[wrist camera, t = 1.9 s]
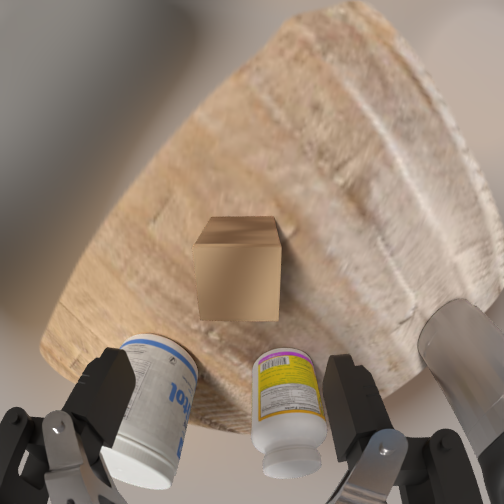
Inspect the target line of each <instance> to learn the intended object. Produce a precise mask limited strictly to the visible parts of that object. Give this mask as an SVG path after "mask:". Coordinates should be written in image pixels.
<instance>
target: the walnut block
mask: <svg viewBox="0 0 504 504" xmlns="http://www.w3.org/2000/svg"><path fill="white" fill-rule="evenodd" d="M281 250H282V247H281V244H280V240H279V236H278V232H277V228H276V224H275V220H274V216H246V217H211V218H210V220H209V222H208V223H207V225H206V226H205V228H204V230H203V231H202V233H201V235H200V236H199V238H198V239H197V241H196V243H195V244H194V245H193V247H192V253H193V263H194V273H195V282H196V291H197V299H198V307H199V315H200V320H206V321H278V318H279V299H280V276H281Z"/></svg>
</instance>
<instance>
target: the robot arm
mask: <svg viewBox="0 0 504 504" xmlns="http://www.w3.org/2000/svg"><path fill="white" fill-rule="evenodd" d="M418 350H419V353H420V354H421V356H422V357H423V359H424V361H425V362H426V364H427V366H428V367H429V369H430V370H431V372H432V374H433V376H434V377H435V379H436V381H437V383H438V384H439V386H440V388H441V389H442V391H443V393H444V394H445V396H446V398H447V400H448V402H449V404H450V405H451V407H452V409H453V411H454V413H455V415H456V416H457V418H458V420H459V422H460V424H461V426H462V428H463V430H464V432H465V434H466V436H467V438H468V440H469V442H470V444H471V446H472V449H473V451H474V453H475V455H476V457H477V458H478V462H479V464H480V466H481V469H482V473H483V478H484V482H485V486H486V490H487V493H488V496H489V499H490V502H491V504H504V333H503V332H502V331H501V330H500V329H499V328H498V327H497V326H496V325H495V324H494V323H493V322H492V321H491V320H490V319H489V318H488V317H487V316H486V315H485V314H484V313H483V312H482V311H481V310H480V309H479V308H478V307H477V306H473V305H472V304H471V303H470V302H469V301H468V300H466V299H456V300H453V301H451V302H449V303H447V304H446V305H444V306H443V307H442V308H440V309H439V310H438V311H437V312H436V313H435V314H434V315H433V316H432V317H431V319H430V320H429V321H428V322H427V324H426V325H425V327H424V329H423V331H422V333H421V335H420V338H419V341H418ZM135 385H136V377H135V373H134V371H133V368H132V366H131V363H130V361H129V358H128V356H127V353H126V351H125V350H123V349H116V348H109V347H107V348H106V349H105V350H104V352H103V353H102V355H101V357H100V358H97V357H96V358H95V359H94V360H93V361H92V362H90V363H89V364H88V365H87V367H86V368H85V370H84V372H83V373H82V376H81V377H80V378H79V380H78V383H77V384H76V385H75V387H74V389H73V391H72V392H71V394H70V396H69V398H68V400H67V401H66V403H65V405H64V407H63V408H62V410H56V411H53V412H50V413H49V414H47V415H46V417H45V418H41V417H30V416H29V415H28V414H27V413H26V412H25V410H24V409H22V408H20V407H13V408H11V409H9V410H8V411H7V413H6V414H5V416H4V417H3V419H2V421H1V423H0V504H47V501H48V498H49V497H50V500H51V503H52V504H127V502H126V501H125V499H124V498H123V497H122V496H121V494H120V493H119V492H118V490H117V488H116V486H115V484H114V482H113V480H112V478H111V475H110V473H109V471H108V468H107V466H106V463H105V461H104V458H103V456H102V453H101V452H100V451H101V448H102V446H104V447H108V448H111V449H112V447H113V444H114V442H115V439H116V436H117V433H118V431H119V428H120V425H121V422H122V420H123V417H124V415H125V412H126V409H127V407H128V404H129V402H130V399H131V397H132V394H133V392H134V389H135ZM375 385H376V384H375V382H374V379H373V377H372V375H371V373H370V372H369V371H368V370H367V369H366V368H365V367H364V366H363V365H360V366H355V365H354V362H353V360H352V357H351V355H350V354H342V355H331V356H330V357H329V360H328V364H327V368H326V372H325V376H324V380H323V396H324V400H325V404H326V409H327V413H328V417H329V422H330V426H331V431H332V436H333V440H334V444H335V450H336V454H337V459H338V462H343V461H347V463H348V470H347V471H346V473H345V475H344V476H343V478H342V479H341V481H340V483H339V484H338V486H337V487H336V489H335V490H334V492H333V493H332V495H331V496H330V498H329V499H328V501H327V502H326V503H325V504H387V502H386V499H387V497H388V495H389V493H390V490H391V488H392V486H399V490H400V495H401V499H402V504H483V501H482V499H481V494H480V491H479V487H478V484H477V481H476V478H475V475H474V472H473V469H472V466H471V463H470V461H469V458H468V455H467V453H466V450H465V448H464V445H463V443H462V440H461V438H460V436H459V435H458V434H457V433H456V432H455V431H453V430H451V429H441V430H438V431H437V432H435V433H434V434H433V436H431V437H429V438H428V437H425V438H410V437H405V436H404V435H403V434H402V433H401V432H399V431H397V430H395V429H394V428H393V426H392V424H391V421H390V419H389V416H388V414H387V411H386V409H385V406H384V404H383V401H382V399H381V396H380V395H379V391H378V389H377V386H375ZM25 450H27V451H28V452H29V456H28V458H27V461H26V463H25V466H24V469H23V471H22V474H21V475H20V476H19V474H18V467H19V465H20V462H21V459H22V457H23V454H24V452H25Z"/></svg>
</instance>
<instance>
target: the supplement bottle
mask: <svg viewBox="0 0 504 504" xmlns="http://www.w3.org/2000/svg"><path fill="white" fill-rule="evenodd" d="M326 435H327V425H326V420H325V415H324V411H323V407H322V402H321V397H320V393H319V388H318V384H317V379H316V375H315V371H314V367H313V363H312V361H311V359H310V357H309V356H308V355H307V354H306V353H304V352H303V351H301V350H298V349H293V348H277V349H273V350H270V351H268V352H266V353H264V354H263V355H261V356H260V357H259V358H258V359H257V360H256V362H255V363H254V366H253V369H252V419H251V439H252V443H253V445H254V446H255V448H256V449H257V450H259V451H260V452H262V453H263V454H265V456H264V459H263V472H264V474H265V475H267V476H269V477H272V478H280V479H287V478H297V477H303V476H306V475H309V474H312V473H314V472H316V471H317V470H319V469H320V468H321V465H322V464H321V456H320V453H319V452H318V450H317V449H316V448H317V447H319V446H320V445H321V444H322V443H323V441H324V440H325V438H326Z"/></svg>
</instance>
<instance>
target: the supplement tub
mask: <svg viewBox="0 0 504 504" xmlns="http://www.w3.org/2000/svg"><path fill="white" fill-rule="evenodd" d="M120 349H123V350H125V351H126V353H127V356H128V358H129V361H130V363H131V366H132V368H133V371H134V373H135V377H136V385H135V389H134V392H133V394H132V397H131V399H130V402H129V404H128V407H127V409H126V412H125V415H124V417H123V420H122V422H121V425H120V428H119V431H118V433H117V436H116V439H115V442H114V444H113V447H112V449H111V448H108V447H104V446H102V448H101V451H100V452H101V453H102V456H103V458H104V461H105V463H106V466H107V468H108V471H109V473H110V475H111V476H112V477H114V478H116V479H118V480H121V481H124V482H127V483H129V484H132V485H136V486H139V487H143V488H149V489H159V490H161V489H167V488H170V487H171V486H172V482H173V478H174V476H175V475H176V471H177V468H178V463H179V460H180V455H181V451H182V446H183V442H184V437H185V433H186V428H187V424H188V419H189V415H190V411H191V407H192V402H193V398H194V394H195V389H196V385H197V380H198V369H197V366H196V364H195V362H194V360H193V359H192V357H191V356H190V355H189V354H188V353H187V352H186V351H185V350H184V349H183V348H182V347H181V346H180V345H178V344H177V343H175V342H173V341H172V340H170V339H167V338H165V337H162V336H159V335H154V334H137V335H134V336H131V337H129V338H128V339H127V340H125V341H124V342H123V344H122V345H121V347H120Z"/></svg>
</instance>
